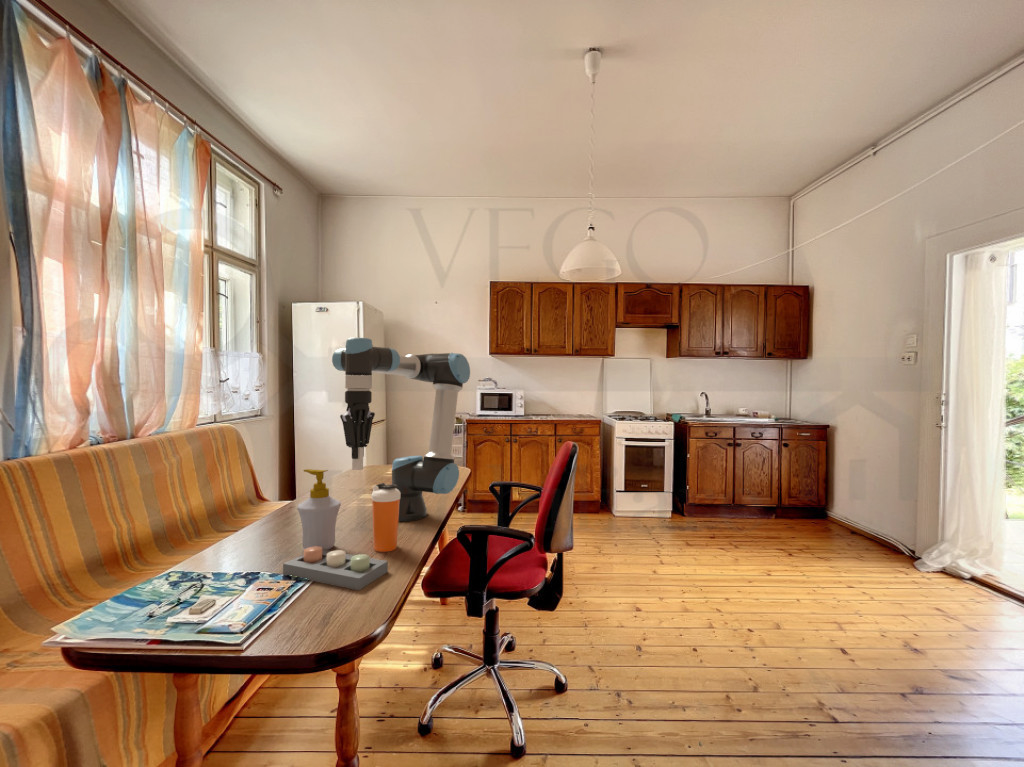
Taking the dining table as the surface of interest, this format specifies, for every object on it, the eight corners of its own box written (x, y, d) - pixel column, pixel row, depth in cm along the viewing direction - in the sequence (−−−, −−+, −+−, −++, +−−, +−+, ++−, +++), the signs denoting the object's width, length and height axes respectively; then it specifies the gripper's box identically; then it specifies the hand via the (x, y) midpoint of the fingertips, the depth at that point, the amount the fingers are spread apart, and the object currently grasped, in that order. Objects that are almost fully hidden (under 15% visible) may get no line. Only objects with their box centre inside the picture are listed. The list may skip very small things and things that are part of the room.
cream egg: (335, 563, 128) (335, 549, 128) (349, 566, 126) (349, 551, 126) (322, 570, 123) (322, 555, 123) (336, 572, 122) (337, 557, 122)
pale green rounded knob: (358, 567, 125) (358, 553, 125) (373, 570, 123) (373, 555, 123) (346, 574, 120) (346, 559, 120) (361, 577, 119) (361, 562, 119)
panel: (316, 558, 135) (316, 548, 135) (387, 571, 126) (387, 561, 126) (283, 574, 123) (283, 563, 123) (359, 590, 115) (359, 578, 115)
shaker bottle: (392, 554, 139) (392, 488, 139) (365, 551, 141) (366, 487, 140) (404, 544, 147) (405, 482, 147) (379, 542, 149) (379, 480, 149)
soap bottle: (313, 539, 151) (314, 465, 150) (348, 543, 148) (349, 467, 148) (287, 553, 138) (288, 472, 138) (324, 557, 136) (325, 474, 135)
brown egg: (312, 559, 130) (312, 545, 130) (326, 561, 129) (326, 547, 129) (299, 565, 126) (299, 551, 126) (313, 568, 124) (313, 553, 124)
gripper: (362, 389, 143) (361, 464, 143) (332, 390, 131) (331, 472, 131) (382, 390, 140) (381, 466, 140) (354, 390, 128) (353, 474, 128)
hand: (357, 469), depth 136 cm, fingers closed
